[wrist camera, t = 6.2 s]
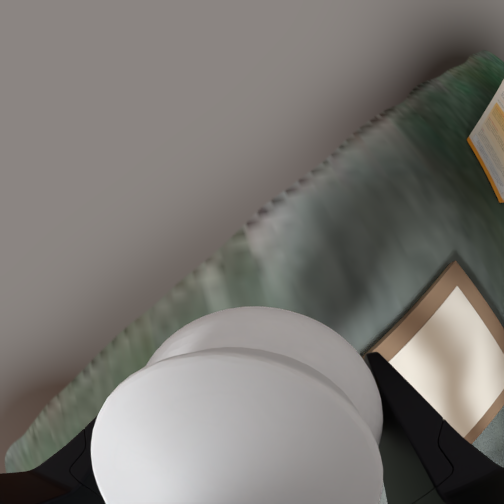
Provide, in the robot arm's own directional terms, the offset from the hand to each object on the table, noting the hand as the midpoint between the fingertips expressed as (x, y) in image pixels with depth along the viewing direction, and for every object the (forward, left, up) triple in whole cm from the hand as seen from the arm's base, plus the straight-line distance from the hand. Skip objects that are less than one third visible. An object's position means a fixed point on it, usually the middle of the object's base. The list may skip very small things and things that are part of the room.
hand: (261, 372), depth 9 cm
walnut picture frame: (+8, -12, -13) cm, 19 cm away
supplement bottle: (-1, -1, -7) cm, 7 cm away
